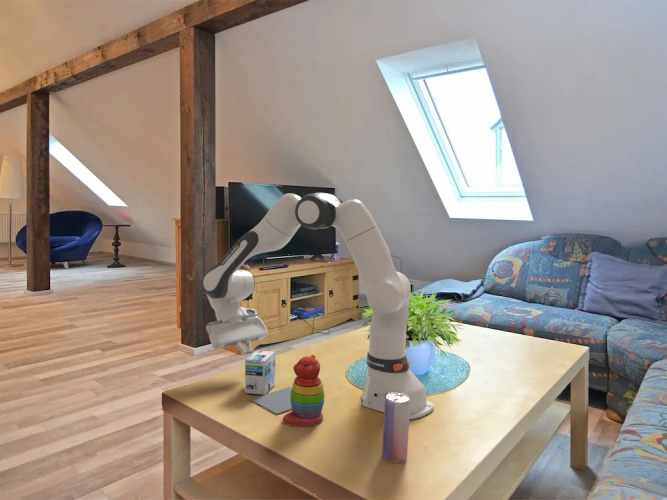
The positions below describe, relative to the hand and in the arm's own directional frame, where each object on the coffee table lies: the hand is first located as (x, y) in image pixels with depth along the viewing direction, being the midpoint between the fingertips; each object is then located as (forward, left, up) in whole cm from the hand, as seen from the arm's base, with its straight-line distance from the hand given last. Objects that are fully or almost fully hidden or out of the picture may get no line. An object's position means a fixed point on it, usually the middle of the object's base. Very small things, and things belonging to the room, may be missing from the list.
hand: (247, 354), depth 162 cm
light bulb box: (-8, 0, -9) cm, 12 cm away
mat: (-19, 0, -9) cm, 21 cm away
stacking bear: (-32, +3, -10) cm, 34 cm away
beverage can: (-61, 0, -10) cm, 62 cm away
